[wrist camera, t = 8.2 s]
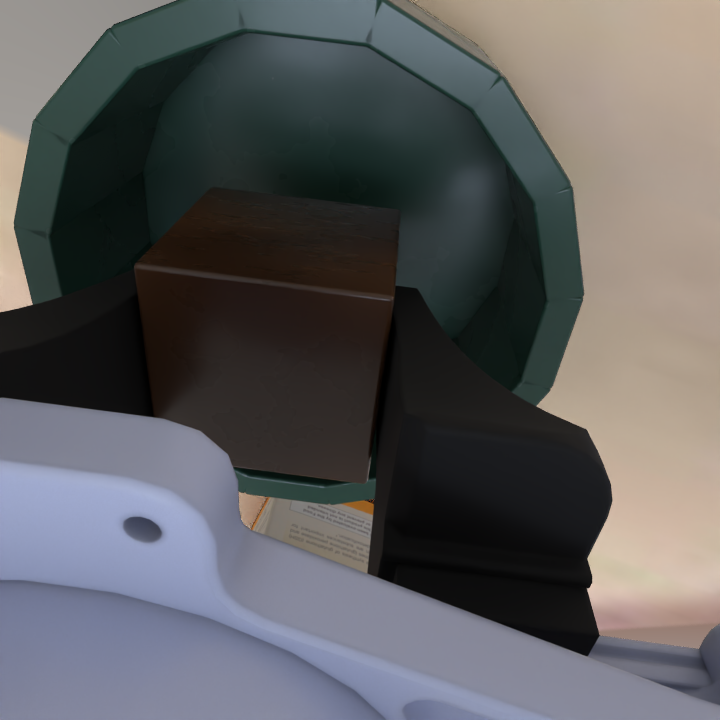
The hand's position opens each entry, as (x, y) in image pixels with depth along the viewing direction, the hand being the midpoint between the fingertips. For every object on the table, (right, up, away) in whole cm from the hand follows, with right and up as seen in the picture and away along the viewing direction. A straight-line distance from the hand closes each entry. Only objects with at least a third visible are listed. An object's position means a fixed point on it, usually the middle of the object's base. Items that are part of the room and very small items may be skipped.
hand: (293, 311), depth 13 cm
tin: (0, +3, +5) cm, 6 cm away
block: (0, +1, +1) cm, 1 cm away
